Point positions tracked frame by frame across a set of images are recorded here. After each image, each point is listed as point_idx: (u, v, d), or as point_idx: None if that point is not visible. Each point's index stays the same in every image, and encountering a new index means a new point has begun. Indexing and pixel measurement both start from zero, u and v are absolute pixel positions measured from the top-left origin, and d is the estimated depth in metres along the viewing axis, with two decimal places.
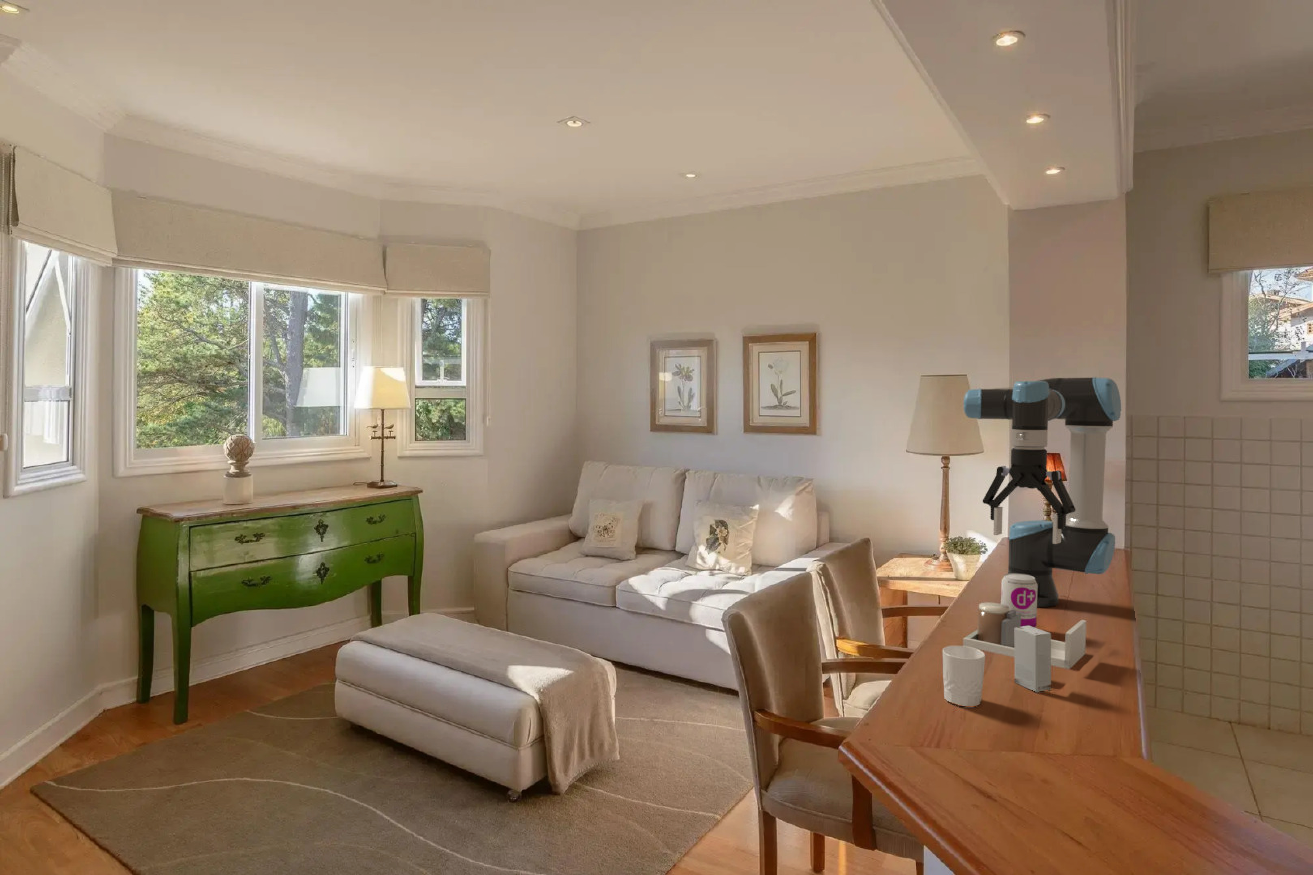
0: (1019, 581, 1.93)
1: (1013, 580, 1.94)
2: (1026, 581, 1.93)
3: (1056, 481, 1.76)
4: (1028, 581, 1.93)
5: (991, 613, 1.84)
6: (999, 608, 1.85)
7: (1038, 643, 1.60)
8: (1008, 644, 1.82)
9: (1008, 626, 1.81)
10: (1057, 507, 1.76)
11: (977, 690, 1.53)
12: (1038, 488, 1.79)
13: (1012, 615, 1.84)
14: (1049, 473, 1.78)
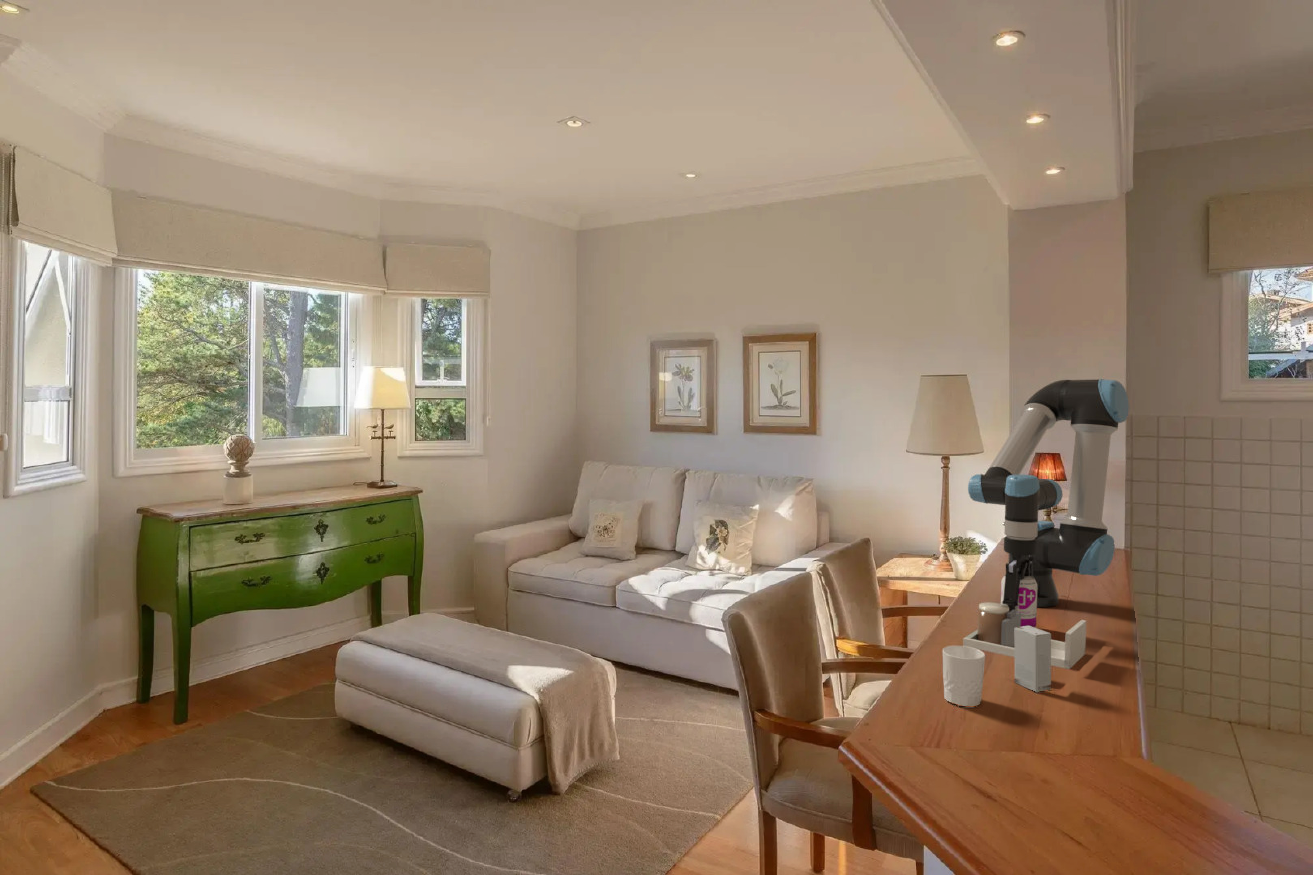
0: None
1: None
2: (1026, 581, 1.93)
3: None
4: (1028, 581, 1.93)
5: (991, 613, 1.84)
6: (999, 608, 1.85)
7: (1038, 643, 1.60)
8: (1008, 644, 1.82)
9: (1008, 626, 1.81)
10: None
11: (977, 690, 1.53)
12: None
13: (1012, 615, 1.84)
14: None
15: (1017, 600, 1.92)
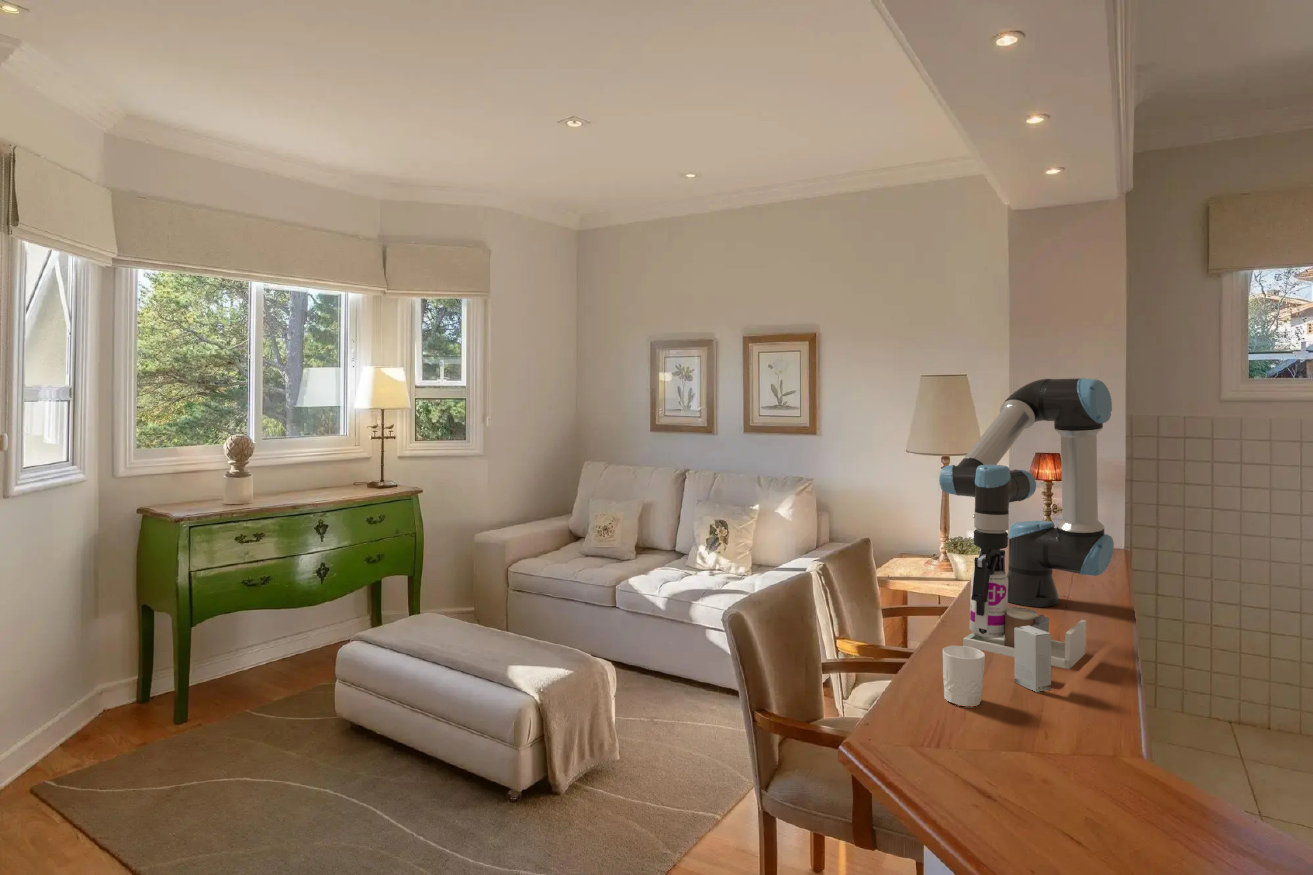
0: None
1: None
2: (996, 576, 1.84)
3: None
4: (998, 576, 1.84)
5: (1019, 618, 1.80)
6: (1027, 613, 1.81)
7: (1038, 643, 1.60)
8: None
9: None
10: None
11: (977, 690, 1.53)
12: None
13: (1041, 620, 1.79)
14: None
15: (986, 596, 1.83)
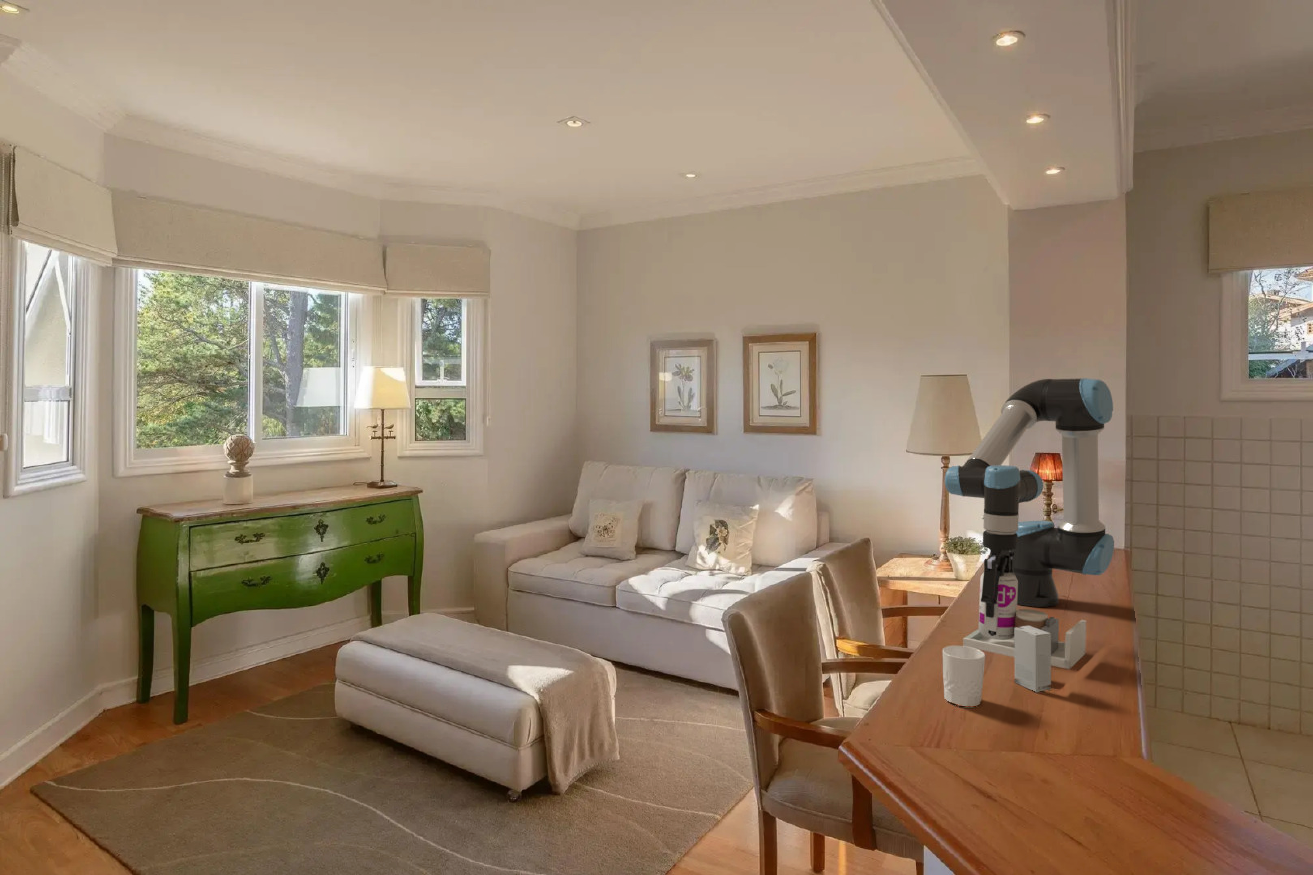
0: None
1: None
2: (1006, 578, 1.82)
3: None
4: (1008, 578, 1.82)
5: (1029, 620, 1.79)
6: (1037, 615, 1.79)
7: (1038, 643, 1.60)
8: None
9: None
10: None
11: (977, 690, 1.53)
12: None
13: (1051, 622, 1.78)
14: None
15: (996, 598, 1.82)
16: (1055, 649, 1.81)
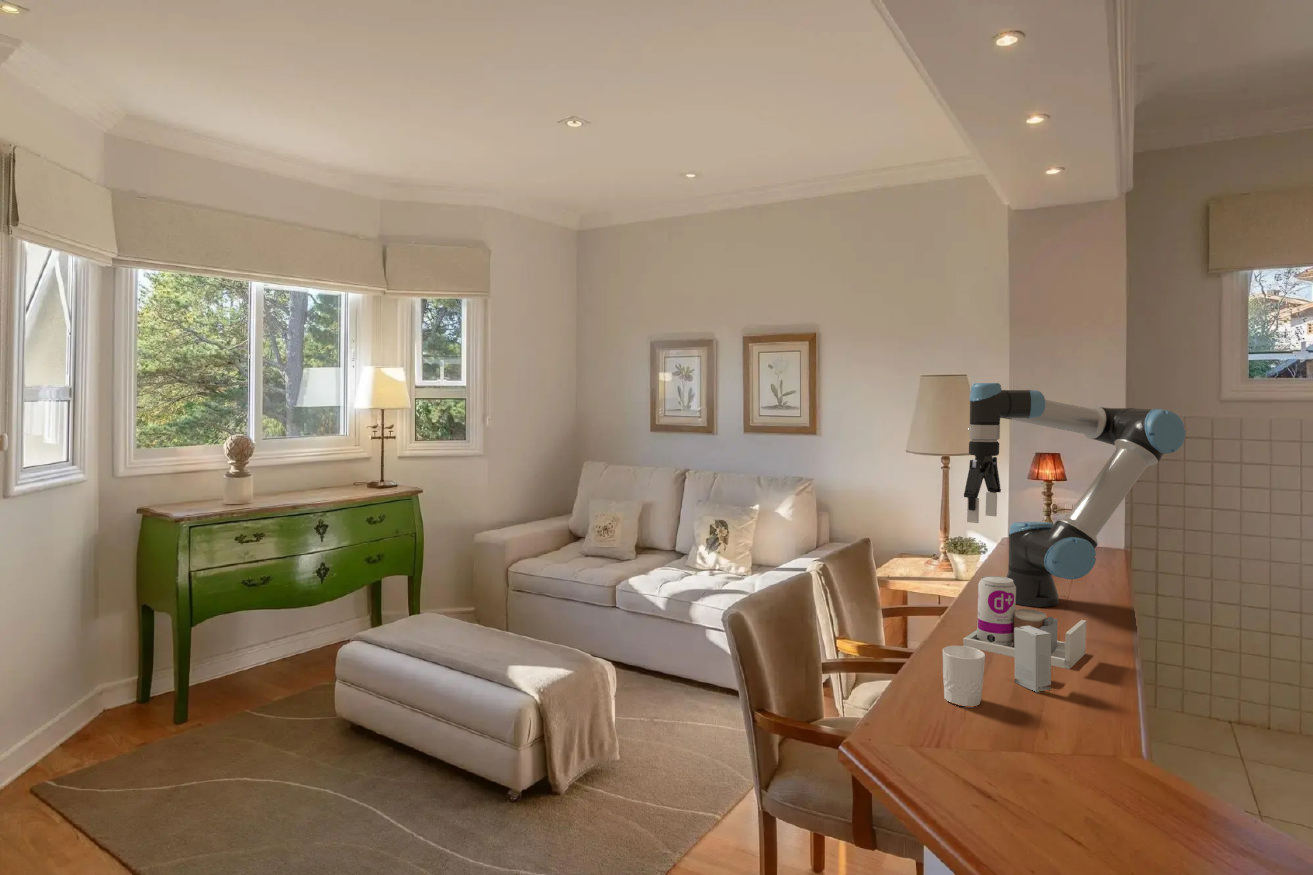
0: (996, 584, 1.83)
1: (990, 583, 1.84)
2: (1004, 584, 1.82)
3: None
4: (1006, 584, 1.83)
5: (1028, 620, 1.79)
6: (1036, 615, 1.80)
7: (1038, 643, 1.60)
8: None
9: None
10: None
11: (977, 690, 1.53)
12: None
13: (1049, 622, 1.78)
14: None
15: (977, 493, 2.05)
16: (1054, 649, 1.81)
